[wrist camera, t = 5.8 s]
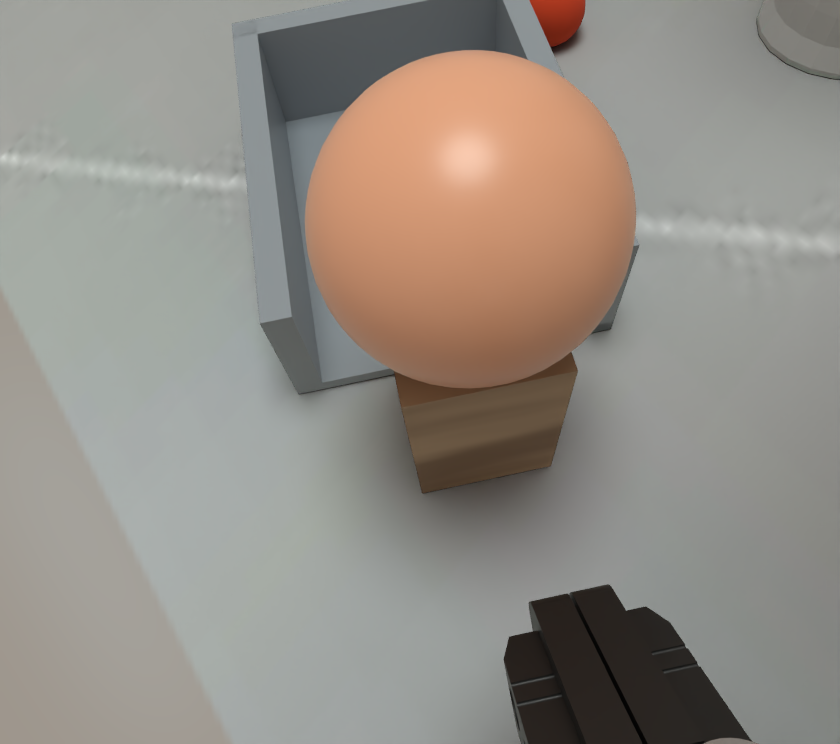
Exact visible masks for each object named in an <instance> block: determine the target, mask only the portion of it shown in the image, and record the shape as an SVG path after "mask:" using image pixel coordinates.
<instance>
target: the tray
mask: <svg viewBox="0 0 840 744" xmlns="http://www.w3.org/2000/svg"><path fill="white" fill-rule="evenodd" d="M232 32H233V43H234V53H235V64H236V75H237V85H238V96H239V107H240V117H241V128H242V139H243V149H244V160H245V171H246V182H247V192H248V203H249V214H250V224H251V235H252V246H253V256H254V267H255V278H256V288H257V299H258V310H259V321H260V325H261V327H262V328H263V330H264V332H265V334H266V336H267V337H268V339H269V341H270V343H271V345H272V347H273V348H274V350H275V352H276V354H277V356H278V358H279V359H280V361H281V363H282V365H283V367H284V368H285V370H286V372H287V374H288V376H289V378H290V379H291V381H292V383H293V385H294V387H295V388H296V390H297V392H298V394H302V393H307V392H312V391H317V390H321V389H326V388H331V387H336V386H340V385H345V384H350V383H355V382H360V381H364V380H369V379H374V378H379V377H383V376H388V375H393V374H394V371H393V370H392V369H390V368H388V367H387V366H385V365H383V364H382V363H380V362H379V361H377V360H376V359H374V358H373V357H371V356H370V355H369V354H368V353H366V352H365V351H364V350H363V349H361V348H360V347H359V346H358V345H357V344H356V343H355V342H354V341H353V340H352V339H351V338H350V337H349V336H348V334H347V333H346V332H345V331H344V330H343V329H342V327H341V326H340V325H339V324H338V322H337V321H336V319H335V318H334V317H333V315H332V314H331V312H330V311H329V309H328V307H327V305H326V303H325V301H324V299H323V297H322V295H321V293H320V291H319V289H318V286H317V284H316V282H315V279H314V275H313V272H312V268H311V265H310V261H309V257H308V253H307V245H306V236H305V208H306V199H307V193H308V187H309V183H310V178H311V174H312V171H313V169H314V166H315V163H316V160H317V158H318V155H319V153H320V150H321V148H322V145H323V144H324V142H325V140H326V139H327V137H328V135H329V133H330V132H331V130H332V128H333V127H334V125H335V124H336V122H337V121H338V119H339V118H340V117H341V115H342V114H343V113H344V112H345V110H346V109H347V108H348V107H349V106H350V105H351V104H352V103H353V102H354V101H355V100H356V99H357V98H358V97H359V96H360V95H361V94H362V93H363V92H364V91H365V90H366V89H367V88H369V87H370V86H371V85H373V84H374V83H375V82H376V81H378V80H379V79H381V78H383V77H384V76H386V75H387V74H389V73H391V72H393V71H394V70H396V69H398V68H400V67H402V66H404V65H406V64H408V63H411V62H413V61H416V60H419V59H421V58H424V57H428V56H431V55H435V54H440V53H445V52H451V51H461V50H485V51H495V52H501V53H507V54H511V55H514V56H518V57H521V58H524V59H527V60H529V61H532V62H534V63H537V64H539V65H542V66H544V67H546V68H548V69H550V70H552V71H554V72H555V73H557V74H558V75H560V76H561V77H563V78H564V76H563V74H562V72H561V70H560V67H559V65H558V63H557V61H556V59H555V56H554V54H553V52H552V50H551V47H550V45H549V43H548V41H547V39H546V36H545V34H544V32H543V30H542V27H541V25H540V23H539V21H538V19H537V16H536V14H535V12H534V10H533V7H532V5H531V3H530V1H529V0H349V1H344V2H339V3H334V4H329V5H323V6H318V7H313V8H308V9H303V10H298V11H293V12H288V13H283V14H278V15H273V16H267V17H262V18H257V19H252V20H247V21H242V22H237V23H232ZM638 247H639V243H638V241H637V239H636V236H635V240H634V246H633V251H632V255H631V259H630V263H629V267H628V270H627V274H626V276H625V279H624V281H623V283H622V285H621V287H620V290H619V292H618V294H617V296H616V298H615V300H614V303H613V304H612V306H611V307H610V309H609V310H608V312H607V313H606V315H605V316H604V318H603V319H602V321H601V322H600V323H599V324H598V326H597V327H596V328H595V329H594V330H593V332H598V331H603V330H608V329H611V327H612V324H613V321H614V318H615V315H616V312H617V309H618V306H619V303H620V301H621V298H622V295H623V292H624V289H625V286H626V283H627V280H628V277H629V274H630V271H631V268H632V265H633V262H634V259H635V256H636V253H637V250H638ZM593 332H592V333H593Z"/></svg>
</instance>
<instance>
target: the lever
mask: <svg viewBox="0 0 840 744" xmlns="http://www.w3.org/2000/svg"><path fill="white" fill-rule="evenodd" d="M529 1H530V3H531V5H532V7H533V10H534V12H535V14H536V16H537V19H538V21H539V23H540V25H541V27H542V30H543V32H544V34H545V36H546V39H547V41H548V43H549V45H550V47H553V46H557V45H559V44H561V43H563V42H565V41H567V40H568V39H569V38H570V37H571V36H572V35H573V34H574V33H575V32H576V31H577V29H578V28H579V26H580V24H581V22H582V19H583V16H584V13H585V0H529Z"/></svg>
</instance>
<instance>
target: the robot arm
mask: <svg viewBox="0 0 840 744" xmlns="http://www.w3.org/2000/svg"><path fill="white" fill-rule="evenodd" d="M529 610H530V616H531V622H532V628H533V632H529V633H524V634H520V635H515V636H511V637H509V640H508V644H507V648H506V652H505V656H504V664H505V669H506V674H507V679H508V685H509V690H510V695H511V700H512V706H513V711H514V716H515V721H516V727H517V730H518V734H519V737H520V741H521V744H757V743H754V742H752V740H751V739H750V738H749V737H748V735H747V734H746V733H745V731H744V730H743V728H742V727H741V725H740V724H739V722H738V721H737V719H736V718H735V717H734V715H733V714H732V712H731V711H730V709H729V708H728V706H727V705H726V703H725V702H724V701H723V699H722V698H721V696H720V695H719V693H718V692H717V690H716V689H715V687H714V686H713V685H712V683H711V682H710V680H709V679H708V677H707V676H706V674H705V673H704V672H703V670H702V669H701V667H699V666H698V664H697V661H696V660H695V658H694V657H693V656H692V654H691V653H690V651H689V650H688V649H686V647H685V644H684V642H683V641H682V640H681V638H680V637H679V635H678V634H677V632H676V631H675V629H674V628H673V626H672V625H671V624H670V622H668V621H667V620H665V619H664V618H662V617H661V616H659V615H658V614H656V613H655V612H653V611H652V610H650V609H649V608H647V607H641V608H637V609H632V610H628V611H626V610H625V608H624V607H623V605H622V603H621V602H620V600H619V598H618V597H617V595H616V593H615V592H614V590H613V589H612V587H611V586H610V585H609V584H608V585H603V586H598V587H594V588H589V589H585V590H580V591H576V592H571V593H570V594H563V595H558V596H554V597H549V598H544V599H540V600H535V601H531V602H529Z"/></svg>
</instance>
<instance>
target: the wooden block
mask: <svg viewBox="0 0 840 744" xmlns="http://www.w3.org/2000/svg"><path fill="white" fill-rule="evenodd" d="M577 372H578V370H577V367H576V364H575V361H574V358H573V355H572V353H571V352H570V353H569V354H568V355H566V356H565V357H564V358H562V359H561V360H559V361H558V362H556V363H555V364H553V365H551V366H550V367H548V368H547V369H545V370H543V371H541V372H538V373H536V374H534V375H532V376H530V377H527V378H524V379H521V380H518V381H515V382H512V383H508V384H503V385H498V386H493V387H484V388H450V387H444V386H438V385H432V384H428V383H424V382H421V381H418V380H414V379H411V378H409V377H407V376H404V375H402V374H400V373H397V372H395V371H394V374H395V379H396V384H397V389H398V394H399V399H400V404H401V409H402V413H403V417H404V421H405V425H406V429H407V433H408V437H409V441H410V445H411V449H412V453H413V458H414V462H415V466H416V470H417V474H418V478H419V482H420V486H421V490H422V493H427V492H431V491H436V490H441V489H445V488H450V487H455V486H459V485H464V484H469V483H473V482H478V481H483V480H487V479H492V478H497V477H502V476H506V475H511V474H516V473H520V472H525V471H530V470H534V469H539V468H544V467H548V466H551V464H552V460H553V456H554V453H555V449H556V446H557V442H558V439H559V435H560V432H561V428H562V425H563V421H564V418H565V414H566V411H567V407H568V404H569V400H570V397H571V393H572V390H573V386H574V383H575V379H576V376H577Z"/></svg>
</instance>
